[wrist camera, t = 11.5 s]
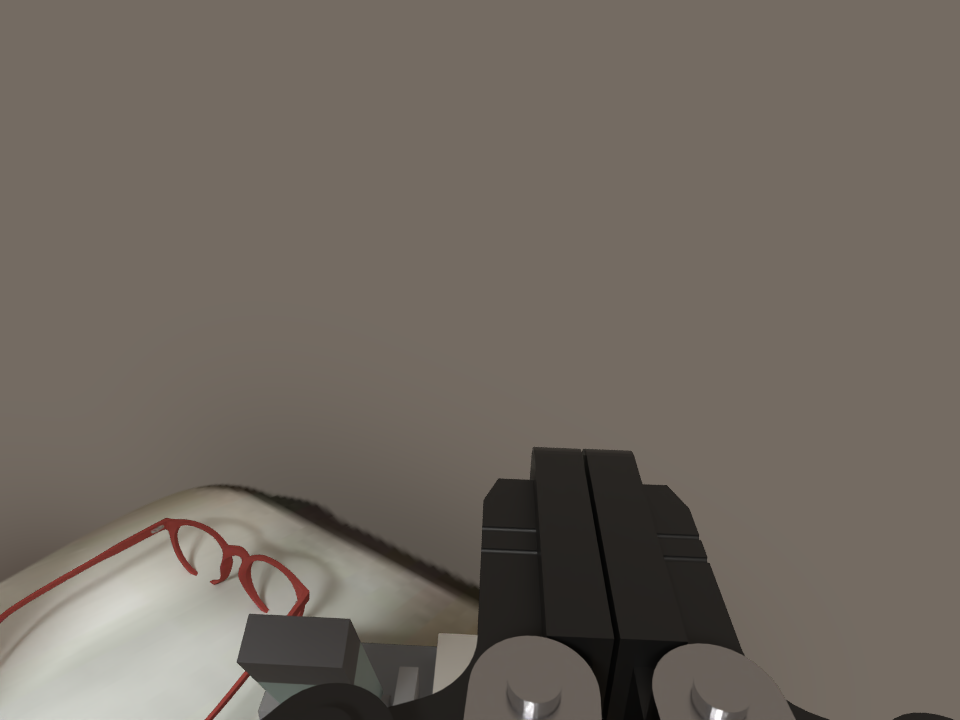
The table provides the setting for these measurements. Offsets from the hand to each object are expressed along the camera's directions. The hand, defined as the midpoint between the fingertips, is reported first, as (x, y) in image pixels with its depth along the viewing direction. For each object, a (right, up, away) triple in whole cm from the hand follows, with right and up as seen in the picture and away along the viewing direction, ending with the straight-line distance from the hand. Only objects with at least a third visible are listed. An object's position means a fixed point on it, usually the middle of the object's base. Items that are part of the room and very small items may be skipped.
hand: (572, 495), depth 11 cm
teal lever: (-9, -16, +25) cm, 31 cm away
